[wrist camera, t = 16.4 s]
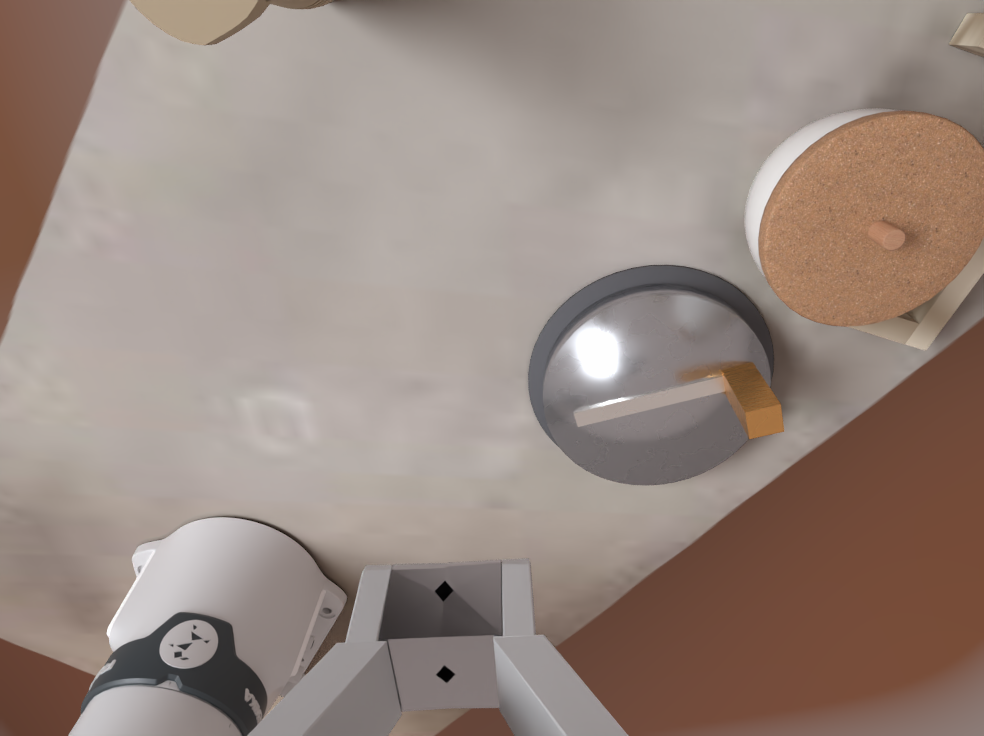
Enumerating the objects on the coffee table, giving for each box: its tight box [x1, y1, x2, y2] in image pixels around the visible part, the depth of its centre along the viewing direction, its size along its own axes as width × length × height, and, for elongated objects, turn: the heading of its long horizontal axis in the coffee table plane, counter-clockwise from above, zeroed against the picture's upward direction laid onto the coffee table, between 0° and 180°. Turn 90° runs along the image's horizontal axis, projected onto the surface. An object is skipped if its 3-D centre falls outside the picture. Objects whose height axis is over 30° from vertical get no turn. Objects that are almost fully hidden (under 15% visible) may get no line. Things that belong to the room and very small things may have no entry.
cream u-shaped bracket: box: [847, 13, 984, 351], centre depth 36 cm, size 17×8×2 cm, turn 163°
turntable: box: [543, 284, 784, 485], centre depth 40 cm, size 15×15×7 cm
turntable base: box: [528, 265, 774, 447], centre depth 44 cm, size 17×17×1 cm
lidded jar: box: [744, 108, 984, 327], centre depth 33 cm, size 11×11×9 cm
